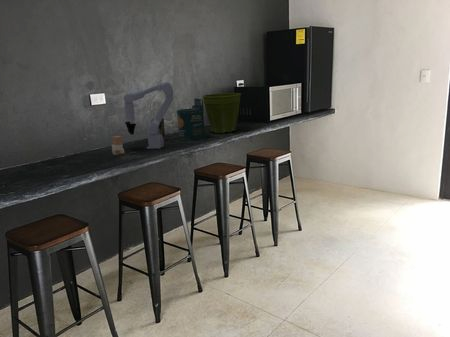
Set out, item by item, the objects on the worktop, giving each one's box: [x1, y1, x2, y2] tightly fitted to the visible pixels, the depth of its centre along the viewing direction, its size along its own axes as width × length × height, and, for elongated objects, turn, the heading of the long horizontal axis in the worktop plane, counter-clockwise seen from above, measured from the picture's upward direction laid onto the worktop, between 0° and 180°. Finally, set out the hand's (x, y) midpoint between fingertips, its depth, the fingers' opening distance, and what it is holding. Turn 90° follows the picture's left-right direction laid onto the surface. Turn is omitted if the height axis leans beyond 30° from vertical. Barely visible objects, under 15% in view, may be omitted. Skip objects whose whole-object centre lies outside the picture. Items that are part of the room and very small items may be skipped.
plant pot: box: [202, 92, 242, 134], centre depth 294 cm, size 30×30×29 cm
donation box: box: [176, 97, 206, 142], centre depth 272 cm, size 16×16×28 cm
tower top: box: [111, 144, 124, 151], centre depth 237 cm, size 6×6×3 cm
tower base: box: [111, 148, 125, 156], centre depth 239 cm, size 6×6×3 cm
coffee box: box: [150, 117, 166, 142], centre depth 271 cm, size 9×6×16 cm
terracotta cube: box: [111, 135, 124, 145], centre depth 237 cm, size 4×4×5 cm
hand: (131, 133), depth 246 cm, fingers open, 7 cm apart
